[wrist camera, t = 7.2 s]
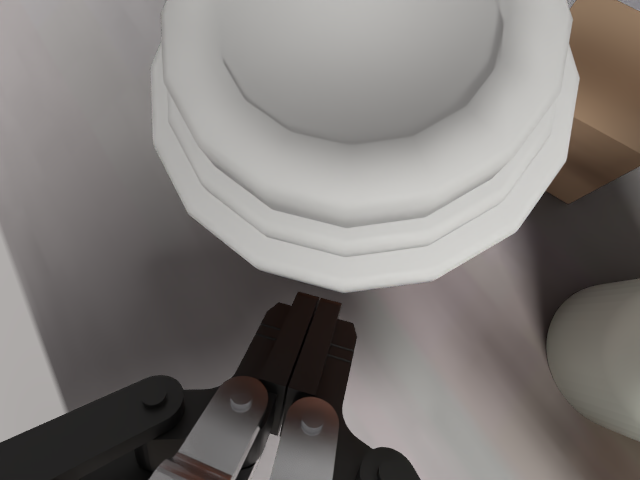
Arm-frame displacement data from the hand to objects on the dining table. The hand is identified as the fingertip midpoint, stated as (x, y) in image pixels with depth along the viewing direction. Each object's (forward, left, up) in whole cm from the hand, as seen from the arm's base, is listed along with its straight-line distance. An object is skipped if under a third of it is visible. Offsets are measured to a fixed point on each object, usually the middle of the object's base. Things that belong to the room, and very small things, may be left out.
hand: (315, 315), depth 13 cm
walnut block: (-14, 0, -4) cm, 14 cm away
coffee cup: (-4, -3, -5) cm, 7 cm away
